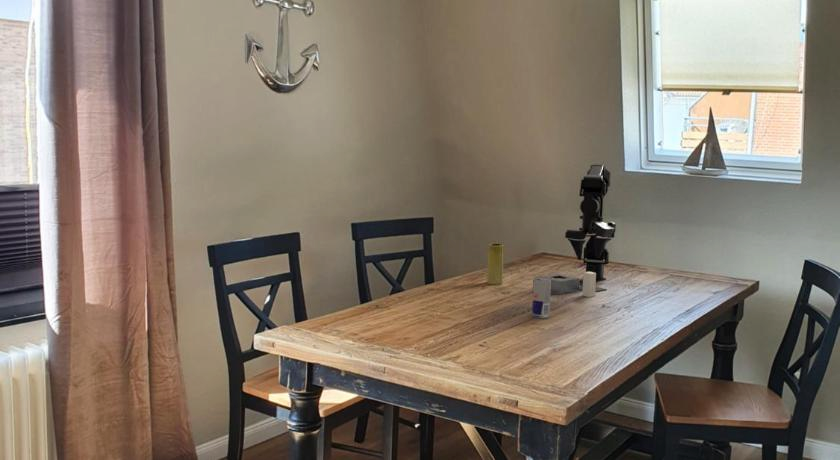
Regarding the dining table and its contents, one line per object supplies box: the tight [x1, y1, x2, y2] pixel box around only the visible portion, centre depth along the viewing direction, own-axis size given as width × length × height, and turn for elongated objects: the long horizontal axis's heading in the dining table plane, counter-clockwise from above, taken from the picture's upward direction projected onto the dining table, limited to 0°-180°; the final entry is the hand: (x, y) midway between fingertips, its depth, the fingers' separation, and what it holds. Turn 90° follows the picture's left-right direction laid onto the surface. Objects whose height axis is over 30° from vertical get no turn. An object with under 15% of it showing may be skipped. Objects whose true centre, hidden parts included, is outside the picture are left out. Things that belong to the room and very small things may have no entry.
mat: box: [579, 285, 608, 293], centre depth 304 cm, size 8×8×1 cm
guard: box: [539, 273, 580, 295], centre depth 303 cm, size 10×10×4 cm
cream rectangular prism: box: [582, 271, 597, 298], centre depth 294 cm, size 3×3×8 cm
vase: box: [486, 242, 504, 286], centre depth 311 cm, size 6×6×14 cm
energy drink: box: [531, 276, 552, 320], centre depth 264 cm, size 5×5×12 cm
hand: (588, 259), depth 293 cm, fingers open, 9 cm apart
